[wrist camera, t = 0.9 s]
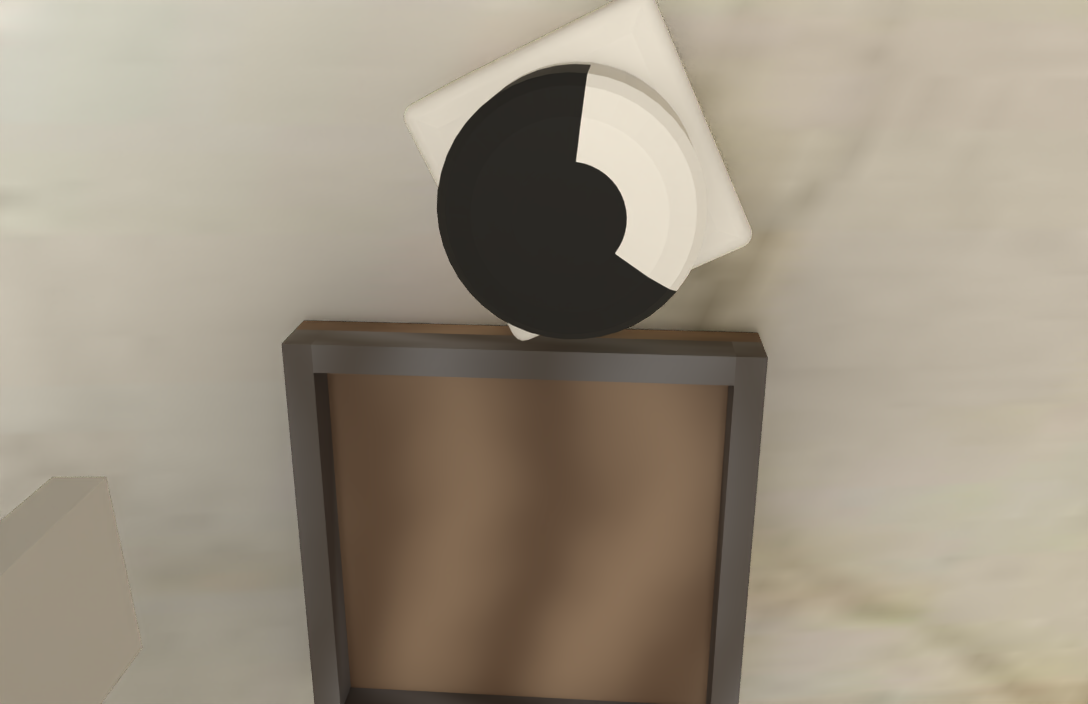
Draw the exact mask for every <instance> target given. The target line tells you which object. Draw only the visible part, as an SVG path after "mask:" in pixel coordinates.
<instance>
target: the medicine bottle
mask: <svg viewBox="0 0 1088 704" xmlns="http://www.w3.org/2000/svg"><path fill="white" fill-rule="evenodd" d="M404 120H405V124H406V126H407V128H408V130H409V132H410V134H411V136H412V138H413V140H414V142H415V144H416V146H417V147H418V149H419V151H420V153H421V155H422V157H423V159H424V161H425V163H426V165H427V167H428V169H429V171H430V173H431V175H432V177H433V179H434V181H435V183H436V185H437V187H438V196H437V214H438V224H439V230H440V234H441V238H442V242H443V246H444V249H445V251H446V254H447V256H448V259H449V261H450V263H451V265H452V267H453V269H454V270H455V272H456V274H457V276H458V278H459V279H460V280H461V282H462V283H463V284H464V286H465V287H466V288H467V290H468V291H469V292H470V293H471V294H472V295H473V296H474V297H475V298H476V299H477V300H478V301H479V302H480V303H481V304H482V305H483V306H484V307H485V308H486V309H488V310H489V311H490V312H492V313H493V314H494V315H496V316H497V317H499V318H500V319H502V320H504V321H505V322H507V324H508V326H509V328H510V329H511V331H512V333H513V335H514V336H515V337H516V338H517V339H519V340H522V341H524V340H529V339H531V338H534V337H536V336H538V335H541V336H544V337H550V338H558V339H588V338H596V337H602V336H605V335H609V334H612V333H616V332H619V331H621V330H624V329H626V328H628V327H631V326H633V325H635V324H637V323H639V322H640V321H642V320H644V319H645V318H647V317H649V316H650V315H651V314H653V313H654V312H655V311H656V310H658V309H659V308H660V307H662V306H663V305H664V304H665V303H666V302H667V301H668V300H669V299H670V298H671V297H672V296H673V295H674V294H675V292H676V291H677V290H678V289H679V287H680V286H681V285H682V283H683V282H684V280H685V279H686V278H687V276H688V274H689V272H690V271H691V269H693V268H696V267H698V266H700V265H703V264H705V263H707V262H710V261H712V260H714V259H717V258H719V257H721V256H724V255H726V254H728V253H730V252H733V251H735V250H737V249H740V248H742V247H744V246H745V245H747V244H748V243H749V242H750V240H751V237H752V230H751V227H750V224H749V222H748V220H747V217H746V215H745V212H744V210H743V208H742V205H741V203H740V200H739V198H738V196H737V193H736V191H735V189H734V186H733V184H732V181H731V179H730V177H729V174H728V172H727V170H726V167H725V165H724V162H723V160H722V158H721V155H720V153H719V151H718V148H717V146H716V143H715V141H714V139H713V136H712V134H711V132H710V129H709V127H708V124H707V122H706V120H705V117H704V115H703V112H702V110H701V108H700V105H699V103H698V101H697V98H696V96H695V93H694V91H693V89H692V86H691V84H690V82H689V79H688V77H687V74H686V72H685V70H684V67H683V65H682V63H681V60H680V58H679V55H678V53H677V51H676V48H675V46H674V44H673V41H672V39H671V36H670V34H669V32H668V29H667V27H666V24H665V22H664V20H663V17H662V15H661V13H660V10H659V8H658V5H657V3H656V1H655V0H614V1H612V2H610V3H608V4H606V5H604V6H602V7H600V8H598V9H596V10H594V11H592V12H590V13H588V14H586V15H584V16H582V17H580V18H578V19H576V20H574V21H572V22H570V23H568V24H566V25H564V26H562V27H560V28H558V29H556V30H554V31H552V32H550V33H548V34H546V35H544V36H542V37H540V38H538V39H536V40H534V41H532V42H530V43H528V44H526V45H524V46H522V47H520V48H518V49H516V50H514V51H512V52H510V53H508V54H506V55H504V56H502V57H500V58H498V59H496V60H494V61H492V62H490V63H488V64H486V65H484V66H482V67H480V68H478V69H476V70H474V71H472V72H470V73H468V74H466V75H464V76H462V77H460V78H458V79H456V80H454V81H452V82H450V83H449V84H447V85H445V86H443V87H441V88H440V89H438V90H436V91H434V92H432V93H430V94H429V95H427V96H425V97H423V98H421V99H420V100H418V101H416V102H414V103H412V104H411V105H410V106H408V107H407V108H406V110H405V113H404Z"/></svg>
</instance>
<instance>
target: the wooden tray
mask: <svg viewBox="0 0 1088 704" xmlns="http://www.w3.org/2000/svg"><path fill="white" fill-rule="evenodd" d="M282 353H283V363H284V374H285V385H286V396H287V407H288V418H289V429H290V440H291V451H292V462H293V473H294V484H295V495H296V506H297V517H298V528H299V539H300V549H301V560H302V571H303V582H304V593H305V604H306V615H307V626H308V637H309V648H310V659H311V670H312V681H313V692H314V703H315V704H738V703H739V691H740V679H741V667H742V655H743V643H744V632H745V620H746V608H747V596H748V584H749V573H750V561H751V549H752V537H753V525H754V514H755V502H756V490H757V478H758V466H759V455H760V443H761V431H762V419H763V407H764V396H765V384H766V372H767V360H768V357H767V355H766V352H765V350H764V347H763V344H762V342H761V339H760V337H759V334H758V333H748V332H711V331H674V330H637V329H624V330H621V331H619V332H616V333H612V334H609V335H605V336H602V337H596V338H588V339H558V338H550V337H544V336H541V335H538V336H536V337H534V338H531V339H529V340H524V341H522V340H519V339H517V338H516V337H515V336H514V335H513V333H512V331H511V329H510V328H509V326H489V325H452V324H415V323H378V322H341V321H303V322H302V323H301V324H300V325H299V326H298V327H297V328H296V329H295V331H294V332H293V333H292V334H291V335H290V336H289V337H288V338H287V339H286V340H285V341H284V342H283V343H282Z"/></svg>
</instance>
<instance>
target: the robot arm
mask: <svg viewBox="0 0 1088 704" xmlns="http://www.w3.org/2000/svg"><path fill="white" fill-rule="evenodd" d="M142 648H143V647H142V642H141V637H140V633H139V628H138V623H137V619H136V614H135V609H134V604H133V600H132V595H131V590H130V586H129V581H128V576H127V572H126V567H125V562H124V558H123V553H122V548H121V544H120V539H119V534H118V530H117V525H116V520H115V516H114V511H113V506H112V502H111V497H110V492H109V488H108V483H107V478H106V477H52V478H51V479H49V480H48V481H47V482H46V483H45V484H44V485H42V486H41V487H40V488H39V489H38V490H37V491H35V492H34V493H33V494H32V495H31V496H29V497H28V498H27V499H26V500H25V501H24V502H22V503H21V504H20V505H19V506H18V507H16V508H15V509H14V510H13V511H12V512H11V513H9V514H8V515H7V516H6V517H5V518H3V519H2V520H1V521H0V704H101V703H102V702H103V700H104V699H105V698H106V696H107V695H108V694H109V692H110V691H111V690H112V688H113V687H114V686H115V684H116V683H117V682H118V680H119V679H120V678H121V676H122V675H123V673H124V672H125V671H126V669H127V668H128V667H129V665H130V664H131V663H132V661H133V660H134V659H135V657H136V656H137V655H138V653H139V652H140V651H141V649H142Z"/></svg>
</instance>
